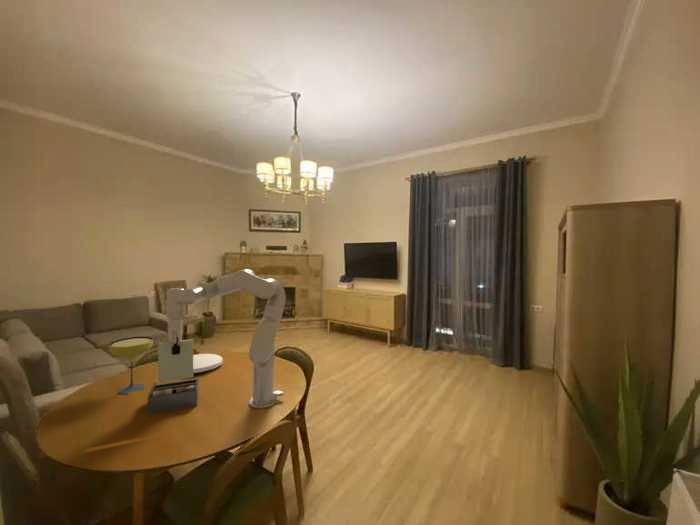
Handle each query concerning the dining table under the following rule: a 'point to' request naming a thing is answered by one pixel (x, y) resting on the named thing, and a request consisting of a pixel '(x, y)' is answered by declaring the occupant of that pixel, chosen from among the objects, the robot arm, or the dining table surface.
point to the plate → (206, 362)
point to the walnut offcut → (185, 389)
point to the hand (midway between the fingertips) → (176, 353)
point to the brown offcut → (162, 392)
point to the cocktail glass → (131, 355)
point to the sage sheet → (175, 361)
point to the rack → (173, 397)
